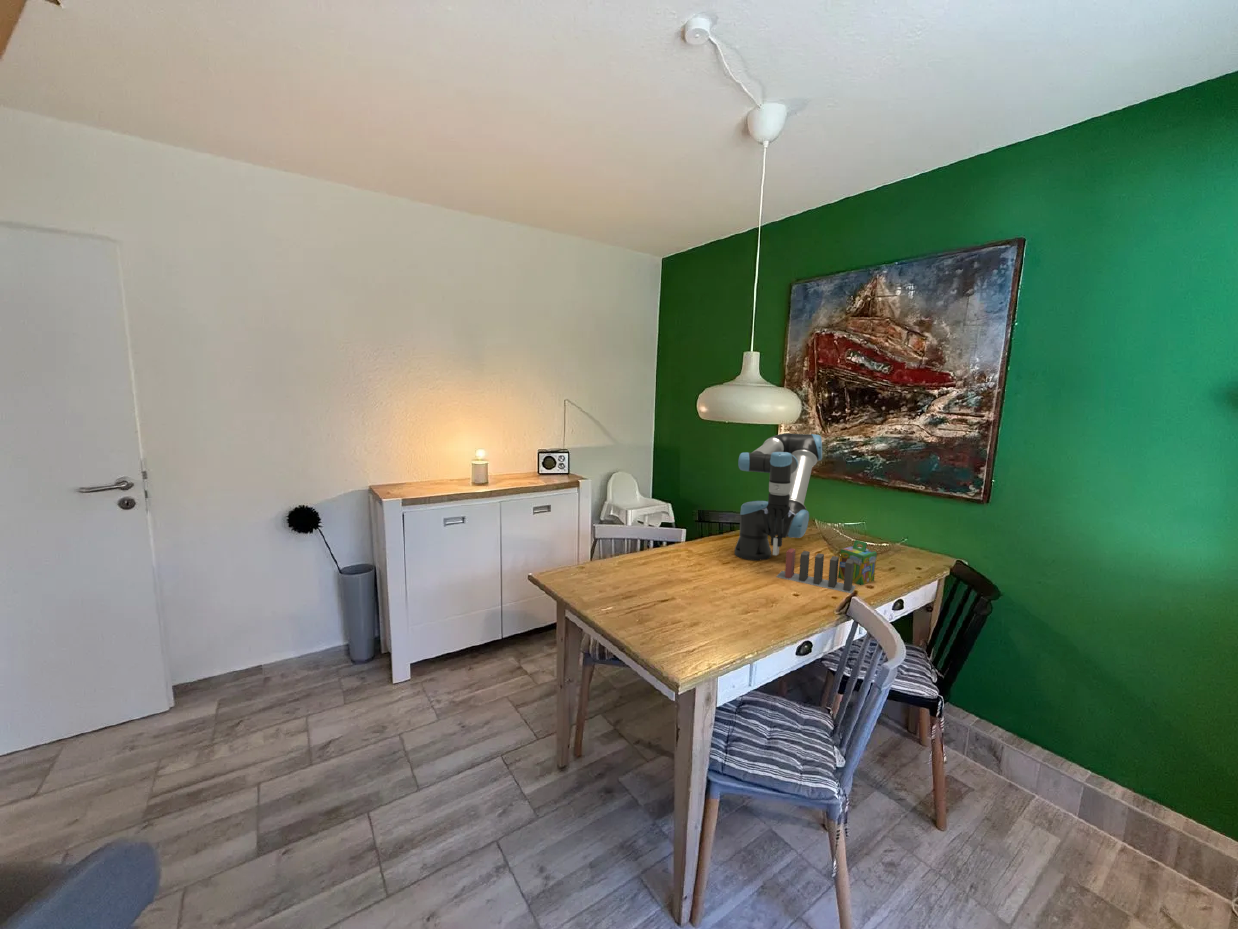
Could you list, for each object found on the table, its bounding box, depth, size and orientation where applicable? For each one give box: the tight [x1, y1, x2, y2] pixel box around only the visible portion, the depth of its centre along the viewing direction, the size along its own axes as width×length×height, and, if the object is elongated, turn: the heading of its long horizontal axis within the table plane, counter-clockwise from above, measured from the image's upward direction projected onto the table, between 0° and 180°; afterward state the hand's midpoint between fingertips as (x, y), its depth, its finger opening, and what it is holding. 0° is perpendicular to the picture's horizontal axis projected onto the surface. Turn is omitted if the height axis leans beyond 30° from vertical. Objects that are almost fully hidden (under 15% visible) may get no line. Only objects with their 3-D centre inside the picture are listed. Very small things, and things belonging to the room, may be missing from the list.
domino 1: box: [784, 547, 796, 578], centre depth 177 cm, size 2×5×10 cm, turn 145°
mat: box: [775, 570, 856, 594], centre depth 173 cm, size 26×8×1 cm, turn 55°
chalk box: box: [837, 539, 878, 586], centre depth 174 cm, size 9×9×15 cm
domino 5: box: [843, 559, 854, 591], centre depth 166 cm, size 2×5×10 cm, turn 145°
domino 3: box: [813, 553, 825, 585], centre depth 172 cm, size 2×5×10 cm, turn 145°
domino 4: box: [828, 555, 840, 588], centre depth 169 cm, size 2×5×10 cm, turn 145°
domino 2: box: [798, 550, 811, 582], centre depth 174 cm, size 2×5×10 cm, turn 145°
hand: (775, 554), depth 180 cm, fingers closed
